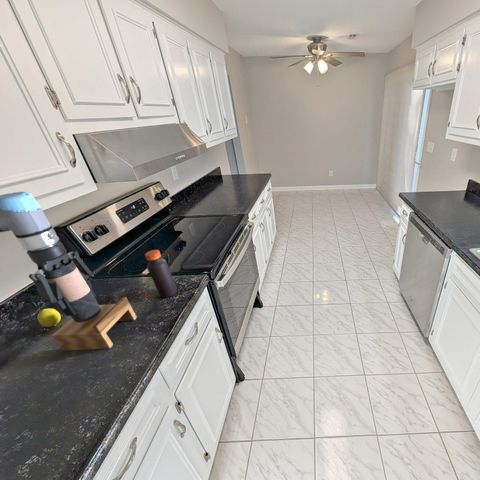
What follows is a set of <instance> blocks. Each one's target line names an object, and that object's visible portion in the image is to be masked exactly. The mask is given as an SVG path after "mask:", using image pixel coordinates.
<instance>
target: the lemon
mask: <svg viewBox="0 0 480 480" xmlns="http://www.w3.org/2000/svg"><path fill="white" fill-rule="evenodd" d="M61 317H62V316H61V313H60V312H59V311H58V310H56V309H55V308H43V309H41V311H39V313H38V314H37V321H38V323H39V325H41V326H43V327H47V328H51V327H56V326H57V325H58V324H59V323H60V321H61Z"/></svg>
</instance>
